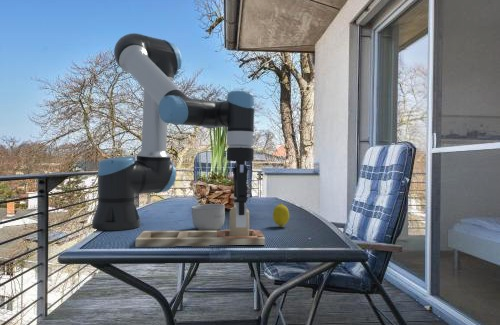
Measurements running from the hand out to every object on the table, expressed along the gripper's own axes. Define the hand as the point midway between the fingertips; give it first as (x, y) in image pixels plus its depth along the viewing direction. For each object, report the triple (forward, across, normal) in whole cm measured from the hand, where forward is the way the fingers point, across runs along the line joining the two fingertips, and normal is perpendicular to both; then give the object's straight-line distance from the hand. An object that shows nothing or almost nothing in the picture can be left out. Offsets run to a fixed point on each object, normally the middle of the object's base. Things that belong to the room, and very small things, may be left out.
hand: (239, 223), depth 114 cm
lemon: (+5, +23, -16) cm, 29 cm away
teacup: (+5, +20, +9) cm, 23 cm away
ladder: (+5, 0, +10) cm, 12 cm away
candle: (+5, 0, 0) cm, 5 cm away
